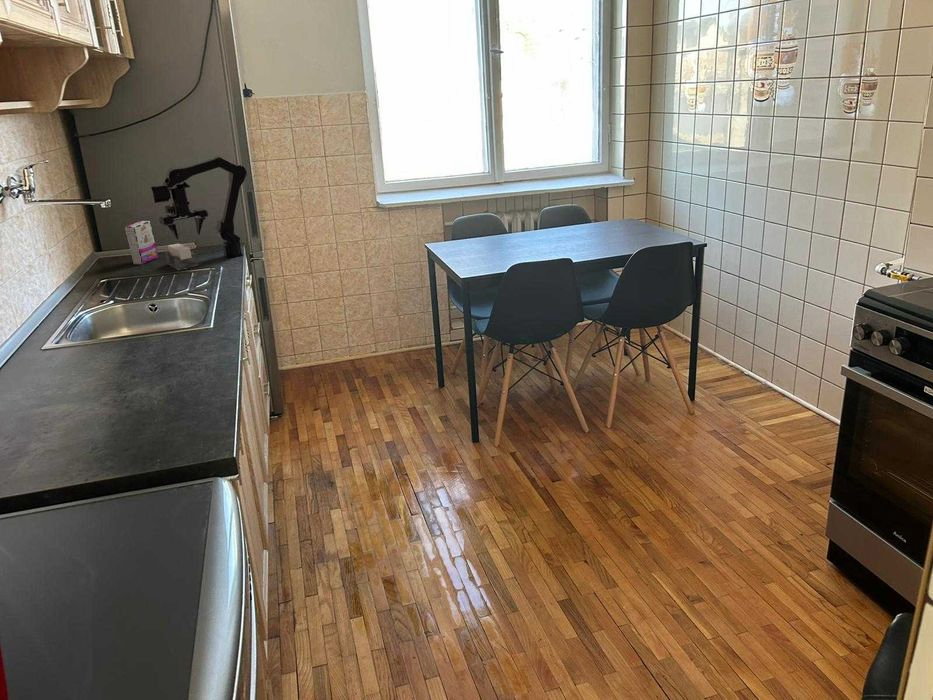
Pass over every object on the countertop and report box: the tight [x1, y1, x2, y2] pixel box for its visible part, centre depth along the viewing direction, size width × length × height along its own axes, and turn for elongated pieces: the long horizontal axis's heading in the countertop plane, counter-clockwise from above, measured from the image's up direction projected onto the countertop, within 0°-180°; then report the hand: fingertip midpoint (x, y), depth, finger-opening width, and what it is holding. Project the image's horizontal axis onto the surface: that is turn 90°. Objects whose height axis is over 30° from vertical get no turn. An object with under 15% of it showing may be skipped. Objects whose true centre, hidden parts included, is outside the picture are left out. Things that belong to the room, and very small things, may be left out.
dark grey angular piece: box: [164, 251, 199, 270], centre depth 296 cm, size 8×14×6 cm, turn 42°
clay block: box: [167, 243, 192, 260], centre depth 295 cm, size 4×12×4 cm, turn 42°
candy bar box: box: [124, 220, 159, 265], centre depth 303 cm, size 11×5×16 cm, turn 167°
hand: (188, 236), depth 297 cm, fingers open, 9 cm apart
